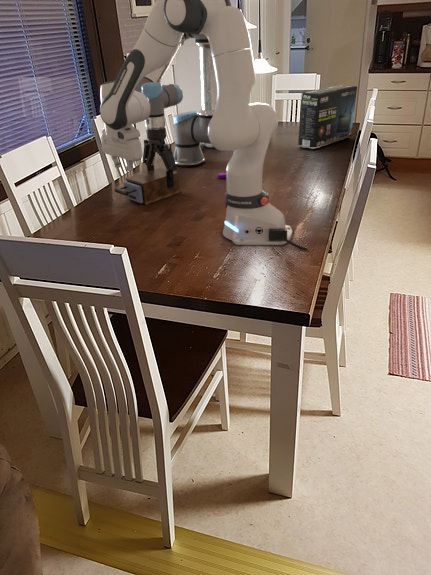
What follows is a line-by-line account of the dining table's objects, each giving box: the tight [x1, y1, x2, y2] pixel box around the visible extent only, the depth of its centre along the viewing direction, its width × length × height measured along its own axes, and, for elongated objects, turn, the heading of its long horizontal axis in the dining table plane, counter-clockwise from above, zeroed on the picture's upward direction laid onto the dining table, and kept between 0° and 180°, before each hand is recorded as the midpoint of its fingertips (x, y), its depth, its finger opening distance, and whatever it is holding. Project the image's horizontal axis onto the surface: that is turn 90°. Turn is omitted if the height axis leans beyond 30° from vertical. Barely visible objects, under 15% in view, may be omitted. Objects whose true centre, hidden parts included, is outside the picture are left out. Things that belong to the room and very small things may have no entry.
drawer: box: [114, 180, 144, 204], centre depth 179 cm, size 22×10×6 cm, turn 136°
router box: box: [297, 84, 358, 151], centre depth 238 cm, size 36×11×27 cm, turn 134°
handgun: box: [217, 172, 226, 179], centre depth 193 cm, size 21×8×2 cm, turn 11°
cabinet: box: [125, 167, 181, 206], centre depth 182 cm, size 18×11×8 cm, turn 136°
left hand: (161, 184), depth 184 cm, fingers closed on cabinet, 11 cm apart
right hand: (123, 169), depth 169 cm, fingers open, 6 cm apart
